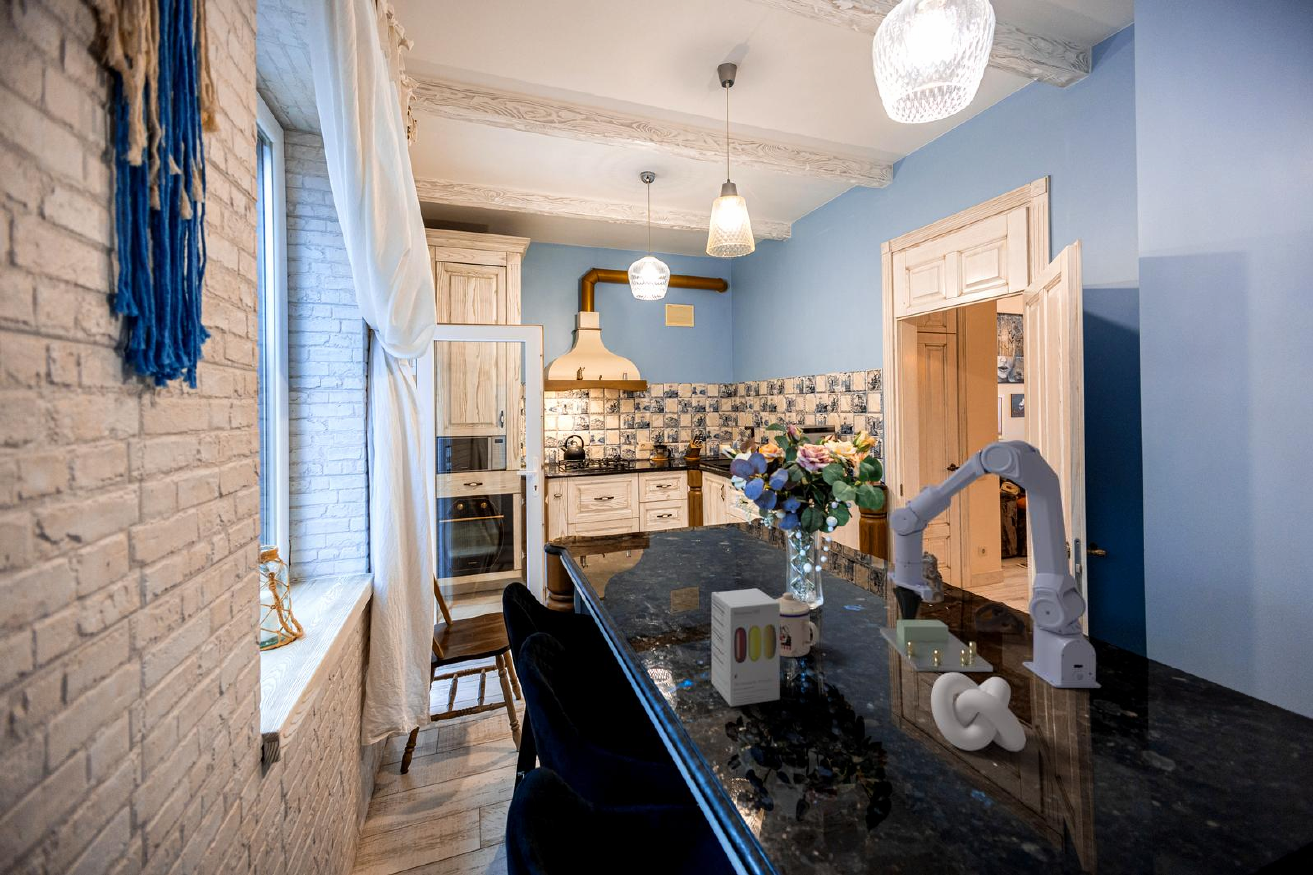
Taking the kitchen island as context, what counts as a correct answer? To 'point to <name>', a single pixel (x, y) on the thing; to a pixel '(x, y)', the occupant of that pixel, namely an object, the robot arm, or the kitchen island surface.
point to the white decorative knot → (975, 713)
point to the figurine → (932, 578)
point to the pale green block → (922, 630)
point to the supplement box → (746, 646)
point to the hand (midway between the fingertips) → (908, 620)
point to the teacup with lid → (795, 627)
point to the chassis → (938, 654)
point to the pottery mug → (999, 619)
